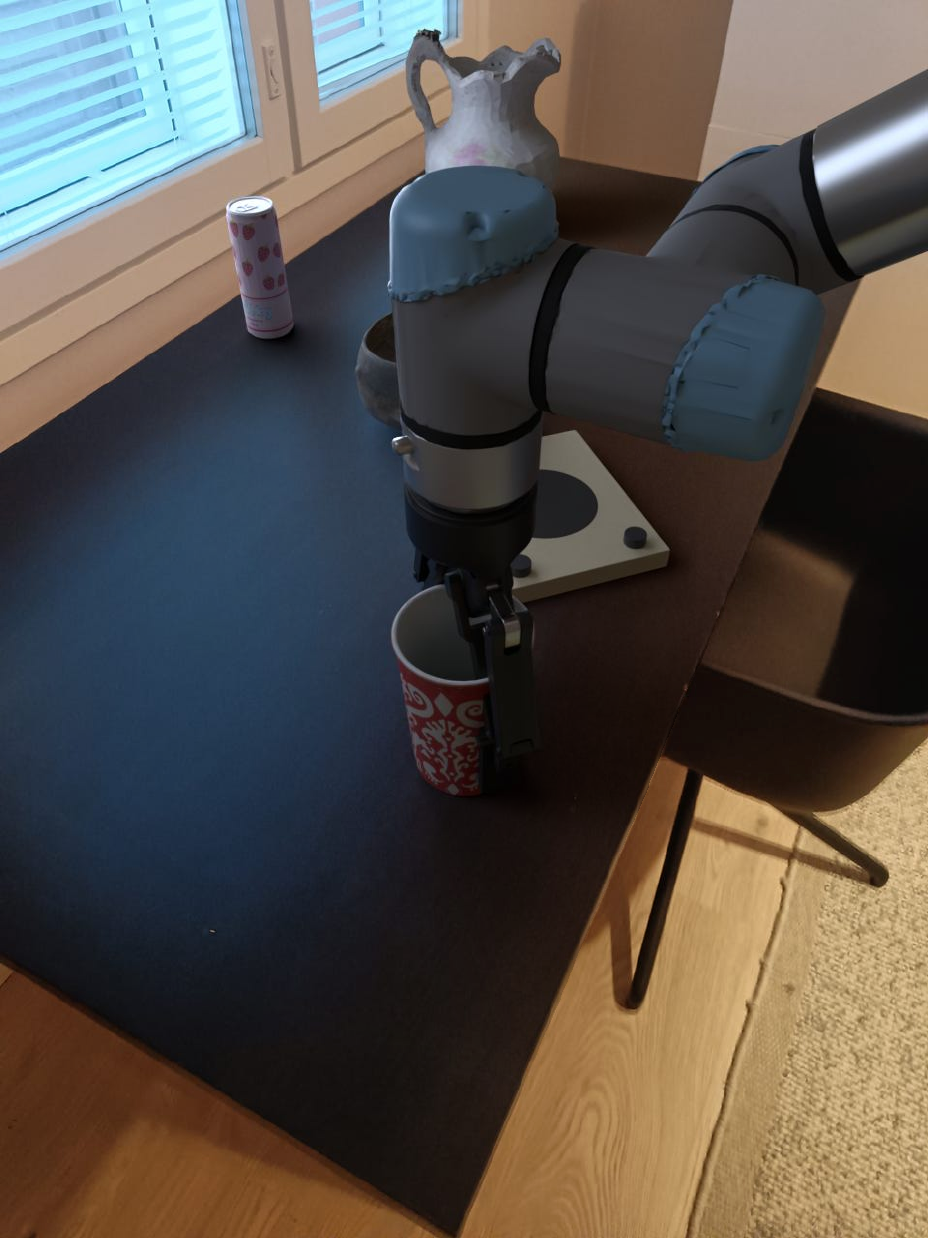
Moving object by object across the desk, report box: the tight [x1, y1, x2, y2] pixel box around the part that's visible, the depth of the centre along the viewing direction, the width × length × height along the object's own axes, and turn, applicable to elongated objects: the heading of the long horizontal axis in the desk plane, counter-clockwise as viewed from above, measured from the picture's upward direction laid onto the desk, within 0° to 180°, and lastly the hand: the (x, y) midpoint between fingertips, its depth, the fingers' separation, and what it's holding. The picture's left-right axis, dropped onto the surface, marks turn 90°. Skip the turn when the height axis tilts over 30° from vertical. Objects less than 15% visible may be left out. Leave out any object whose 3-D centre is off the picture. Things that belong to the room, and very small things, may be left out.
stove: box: [510, 429, 671, 604], centre depth 84 cm, size 20×16×3 cm
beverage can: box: [225, 195, 294, 340], centre depth 106 cm, size 6×6×15 cm
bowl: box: [354, 311, 402, 433], centre depth 93 cm, size 14×15×10 cm
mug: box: [390, 584, 536, 797], centre depth 62 cm, size 13×9×14 cm
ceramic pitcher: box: [405, 28, 562, 194], centre depth 125 cm, size 22×20×25 cm
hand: (470, 723), depth 65 cm, fingers closed on mug, 11 cm apart
